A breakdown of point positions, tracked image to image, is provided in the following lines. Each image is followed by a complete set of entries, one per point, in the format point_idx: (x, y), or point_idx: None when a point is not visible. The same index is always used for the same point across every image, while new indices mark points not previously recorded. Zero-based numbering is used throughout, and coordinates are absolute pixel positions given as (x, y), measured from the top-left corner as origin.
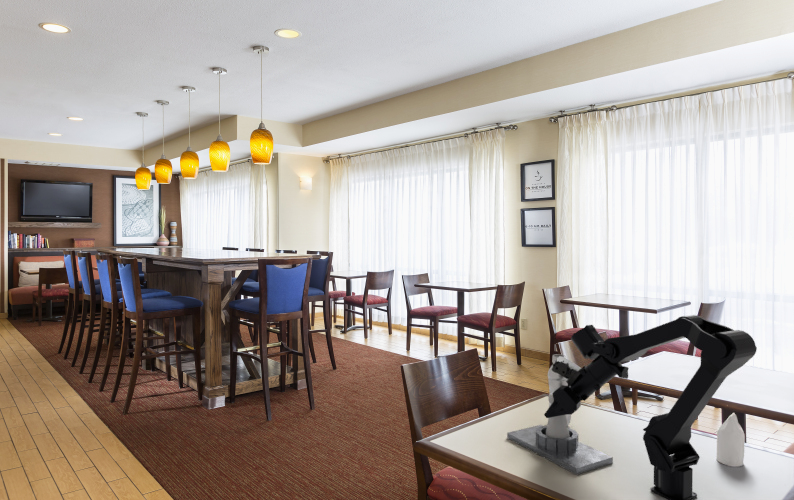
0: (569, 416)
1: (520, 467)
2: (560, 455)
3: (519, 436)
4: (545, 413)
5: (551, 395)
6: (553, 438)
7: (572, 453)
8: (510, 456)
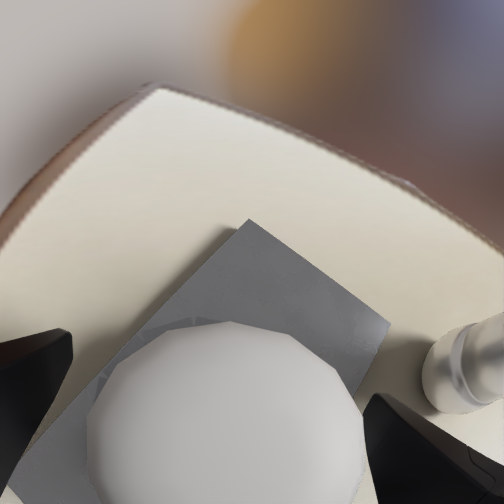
0: (467, 410)
1: (17, 296)
2: (82, 440)
3: (229, 263)
4: (43, 335)
5: (137, 367)
6: None
7: None
8: (88, 258)
